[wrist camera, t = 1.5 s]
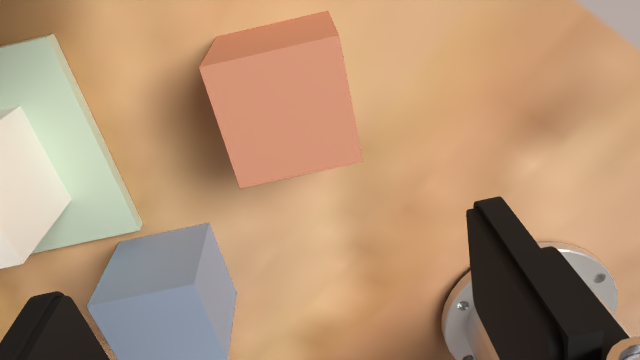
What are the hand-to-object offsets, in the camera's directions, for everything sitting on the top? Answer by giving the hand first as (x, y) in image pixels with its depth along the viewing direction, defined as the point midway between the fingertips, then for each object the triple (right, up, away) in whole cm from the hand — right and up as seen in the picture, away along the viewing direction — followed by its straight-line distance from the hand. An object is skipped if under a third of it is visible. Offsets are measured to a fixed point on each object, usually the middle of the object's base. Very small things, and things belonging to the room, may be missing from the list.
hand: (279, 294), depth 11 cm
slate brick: (-8, -3, +21) cm, 23 cm away
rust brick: (-1, +8, +16) cm, 18 cm away
